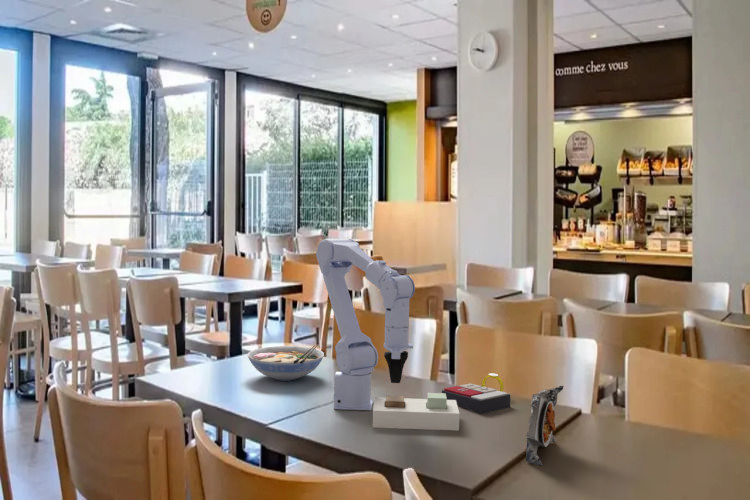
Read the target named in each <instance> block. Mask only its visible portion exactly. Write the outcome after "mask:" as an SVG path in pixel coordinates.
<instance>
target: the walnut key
mask: <svg viewBox="0 0 750 500" xmlns="http://www.w3.org/2000/svg"><path fill="white" fill-rule="evenodd" d="M385 398H386V407H393V408H404V398H405V396H403V395H386V396H385Z"/></svg>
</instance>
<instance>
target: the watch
mask: <svg viewBox="0 0 750 500" xmlns="http://www.w3.org/2000/svg"><path fill="white" fill-rule="evenodd" d="M488 378H490V379H496V380H497V381H498V383H499V387H500V390H499V391H501V392H504V388H505V387H504V386H505V385H504V381H503V379H502V378H501V377H500V376H499V374H497V373H491V372H490V373H488V375H486V376H485V377H484V378H483V379H482V383H481V386H482V387H487V386H486V383H487V382H486V381H487V379H488Z"/></svg>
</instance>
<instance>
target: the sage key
mask: <svg viewBox="0 0 750 500" xmlns="http://www.w3.org/2000/svg"><path fill="white" fill-rule="evenodd" d="M426 396H427V397H426V399H427V409H446V407H447V397H446V393H442V392H427V395H426Z"/></svg>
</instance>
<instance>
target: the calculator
mask: <svg viewBox="0 0 750 500" xmlns="http://www.w3.org/2000/svg"><path fill="white" fill-rule="evenodd" d="M441 393H446V397H447V400H456V402H457V406H458V407H461V408H464V409H468V410H469V411H472V412H474V413H477V414H480V415H484V414H488V413H491V412H496V411H501V410H504V409H505V410H506V409H509V408H511V394H510V393H508V392H505V391H503V392H501V391H500V390H497V389H495V388H492V387H487V386H486V387H482V385H479V384H474V383H467V384H465V383H464V384H460V385H455V386H450V387H445V388H444V389H442V390H441Z"/></svg>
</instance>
